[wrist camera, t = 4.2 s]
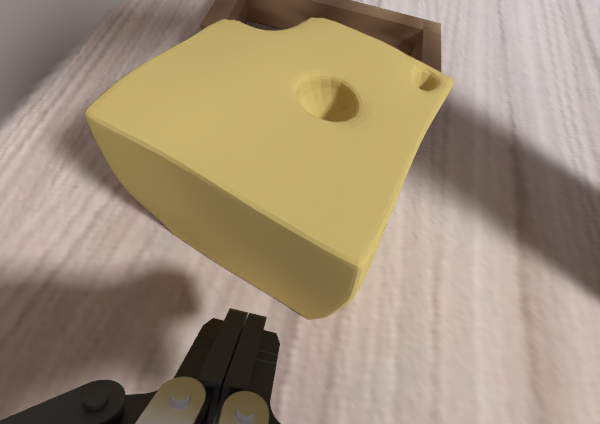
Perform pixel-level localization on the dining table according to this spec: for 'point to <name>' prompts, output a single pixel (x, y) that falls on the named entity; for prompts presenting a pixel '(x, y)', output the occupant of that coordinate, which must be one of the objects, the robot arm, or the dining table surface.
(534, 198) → the dining table surface
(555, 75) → the dining table surface
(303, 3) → the walnut cradle
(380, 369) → the dining table surface
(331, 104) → the cheese
